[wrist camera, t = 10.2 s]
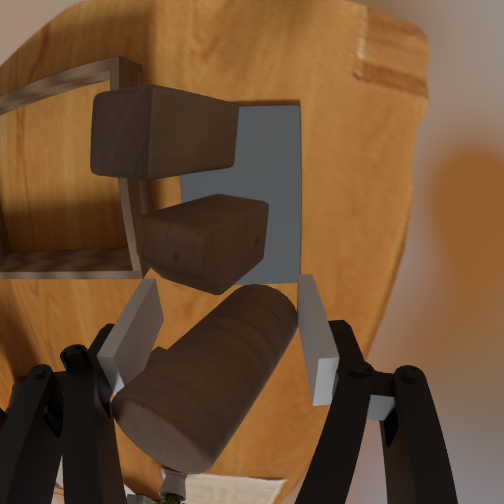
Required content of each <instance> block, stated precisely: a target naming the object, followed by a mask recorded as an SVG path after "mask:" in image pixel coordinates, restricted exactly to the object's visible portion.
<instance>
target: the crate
mask: <svg viewBox="0 0 504 504" xmlns="http://www.w3.org/2000/svg"><path fill="white" fill-rule="evenodd" d="M107 80H110V91H111V90H117V89H124V88H131V87H138V86H142V66H141V65H139V64H137V63H135V62H132V61H130V60H128V59H125V58H123V57H120V56H115V57H111V58H107V59H103V60H100V61H96V62H92V63H89V64H85V65H82V66H79V67H75V68H72V69H69V70H66V71H63V72H60V73H57V74H54V75H51V76H49V77H46V78H43V79H41V80H38V81H35V82H33V83H30V84H28V85H25V86H23V87H21V88H18V89H16V90H14V91H11V92H9V93H7V94H5V95H2V96H0V115H2V114H4V113H7V112H9V111H12V110H14V109H17V108H19V107H22V106H25V105H27V104H30V103H33V102H35V101H38V100H41V99H44V98H47V97H50V96H53V95H56V94H59V93H63V92H66V91H69V90H73V89H76V88H80V87H83V86H87V85H91V84H95V83H99V82H103V81H107ZM118 184H119V192H120V199H121V206H122V212H123V218H124V224H125V230H126V236H127V241H128V247H129V248H108V249H86V250H65V251H44V252H25V253H12V252H11V249H10V245H9V241H8V238H7V234H6V230H5V225H4V221H3V217H2V212H1V207H0V278H8V279H143V278H144V277H145V275H146V273H147V272H148V270H149V269H150V266H149V265H147V264H146V263H145V262H144V261H143V260H142V259H141V258H140V257H139V256H138V254H137V250H136V219H137V217H139V216H141V215H144V214H147V213H151V212H153V206H152V198H151V190H150V181H144V180H136V179H127V178H118Z"/></svg>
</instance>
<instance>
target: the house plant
mask: <svg viewBox="0 0 504 504" xmlns="http://www.w3.org/2000/svg"><path fill="white" fill-rule="evenodd" d="M159 495H160V496H161V497H162V498H164V499H161V500H156V499H151V498H150V499H151V500H152V501H155V502H157V503H151V502H149V503H150V504H159V503H161V502H164V503H163V504H180V502H181V501H185V500H186V490H185V479H184V478H183V477H182V476H179V475H175V474H168V475H166V477H165V479H164V482H163V484H162V486H161V489H160V491H159ZM164 500H165V501H164ZM159 501H160V502H159ZM181 503H182V502H181ZM182 504H184V503H182Z"/></svg>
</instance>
